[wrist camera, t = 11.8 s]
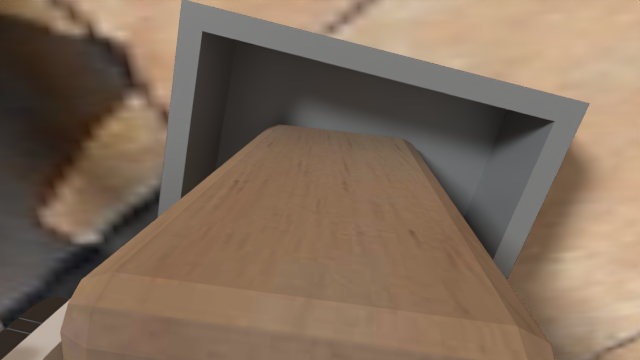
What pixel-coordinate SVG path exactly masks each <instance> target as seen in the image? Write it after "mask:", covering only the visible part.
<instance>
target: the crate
mask: <svg viewBox="0 0 640 360" xmlns="http://www.w3.org/2000/svg"><path fill="white" fill-rule="evenodd" d="M589 104H590V103H586V102H582V101H578V100H574V99H570V98H566V97H562V96H558V95H555V94H551V93H547V92H543V91H539V90H535V89H531V88H527V87H523V86H519V85H515V84H512V83H508V82H504V81H500V80H496V79H492V78H488V77H484V76H480V75H476V74H473V73H469V72H465V71H461V70H457V69H453V68H449V67H445V66H441V65H437V64H433V63H430V62H426V61H422V60H418V59H414V58H410V57H406V56H402V55H398V54H394V53H390V52H387V51H383V50H379V49H375V48H371V47H367V46H363V45H359V44H355V43H351V42H348V41H344V40H340V39H336V38H332V37H328V36H324V35H320V34H316V33H312V32H308V31H305V30H301V29H297V28H293V27H289V26H285V25H281V24H277V23H273V22H269V21H265V20H262V19H258V18H254V17H250V16H246V15H242V14H238V13H234V12H230V11H226V10H223V9H219V8H215V7H211V6H207V5H203V4H199V3H195V2H191V1H187V0H182V2H181V11H180V20H179V29H178V38H177V47H176V56H175V65H174V74H173V83H172V92H171V101H170V110H169V119H168V128H167V137H166V146H165V155H164V164H163V173H162V182H161V191H160V200H159V209H158V217H159V216H160V215H162V214H163V213H164V212H165V211H167V210H168V209H169V208H170V207H172V206H173V205H174V204H175V203H176V202H178V201H179V200H180V199H181V198H183V197H184V196H185V195H186V194H187V193H189V192H190V191H191V190H192V189H194V188H195V187H196V186H197V185H198V184H200V183H201V182H202V181H203V180H205V179H206V178H207V177H208V176H210V175H211V174H212V173H213V172H214V171H216V170H217V169H218V168H219V167H221V166H222V165H223V164H224V163H225V162H227V161H228V160H229V159H230V158H232V157H233V156H234V155H235V154H236V153H238V152H239V151H240V150H241V149H243V148H244V147H245V146H246V145H248V144H249V143H250V142H251V141H252V140H254V139H255V138H256V137H257V136H259V135H260V134H261V133H262V132H263V131H265V130H266V129H267V128H268V127H272V126H275V125H278V124H281V125H290V126H299V127H308V128H317V129H326V130H335V131H344V132H353V133H362V134H371V135H379V136H388V137H397V138H403V139H404V140H406V141H408V142H410V143H412V144H413V146H414V147H415V149H416V150H417V152H418V153H419V154H420V156H421V157H422V159H423V160H424V162H425V163H426V165H427V166H428V167H429V169H430V170H431V172H432V173H433V175H434V176H435V178H436V179H437V180H438V182H439V183H440V185H441V186H442V188H443V189H444V191H445V192H446V193H447V195H448V196H449V198H450V199H451V201H452V202H453V204H454V205H455V206H456V208H457V209H458V211H459V212H460V214H461V215H462V217H463V218H464V219H465V221H466V222H467V224H468V225H469V227H470V228H471V229H472V231H473V232H474V234H475V235H476V237H477V238H478V240H479V241H480V242H481V244H482V245H483V247H484V248H485V250H486V251H487V253H488V254H489V255H490V257H491V258H492V260H493V261H494V263H495V264H496V266H497V267H498V268H499V270H500V271H501V273H502V274H503V276H504V277H505V279H506V280H507V279H508V276H509V274H510V272H511V270H512V268H513V266H514V264H515V262H516V259H517V257H518V255H519V253H520V251H521V249H522V247H523V245H524V242H525V240H526V238H527V236H528V234H529V232H530V230H531V227H532V225H533V223H534V221H535V219H536V217H537V215H538V213H539V210H540V208H541V206H542V204H543V202H544V200H545V198H546V196H547V193H548V191H549V189H550V187H551V185H552V183H553V181H554V179H555V176H556V174H557V172H558V170H559V168H560V166H561V164H562V162H563V159H564V157H565V155H566V153H567V151H568V149H569V147H570V144H571V142H572V140H573V138H574V136H575V134H576V132H577V130H578V127H579V125H580V123H581V121H582V119H583V117H584V115H585V113H586V110H587V108H588V106H589Z"/></svg>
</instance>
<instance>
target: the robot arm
mask: <svg viewBox="0 0 640 360" xmlns="http://www.w3.org/2000/svg"><path fill="white" fill-rule="evenodd" d="M69 301H70V300H69V299H65V298H61V297H57V296H53V297H51V298H49V299H46V300H44V301H42V302H40V303H38V304H35V305H34V306H33V307H31V308H30V309H29V310H28V311H26V312H25V313H24V314H23V315H21V316H20V318H19V319H16V320H15V321H14V322H13V323H11V324H10V325H9V326H8V327H7V329H6V330H5V329H4V330H3V331H1V332H0V360H64V356H63V349H62V342H61V335H60V330H61V327H62V323H63V320H64V316H65V312H66V309H67V305H68V303H69Z"/></svg>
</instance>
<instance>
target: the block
mask: <svg viewBox="0 0 640 360" xmlns="http://www.w3.org/2000/svg"><path fill="white" fill-rule="evenodd" d="M60 335H61V342H62V349H63V356H64V360H554V355H553V351H552V347H551V343H550V342H549V341H548V339H547V338H546V336H545V335H544V333H543V332H542V330H541V329H540V328H539V326H538V325H537V323H536V322H535V320H534V319H533V317H532V316H531V315H530V313H529V312H528V310H527V309H526V307H525V306H524V305H523V303H522V302H521V300H520V299H519V297H518V296H517V294H516V293H515V292H514V290H513V289H512V287H511V286H510V284H509V283H508V281H507V280H506V279H505V277H504V276H503V274H502V273H501V271H500V270H499V268H498V267H497V266H496V264H495V263H494V261H493V260H492V258H491V257H490V255H489V254H488V253H487V251H486V250H485V248H484V247H483V245H482V244H481V242H480V241H479V240H478V238H477V237H476V235H475V234H474V232H473V231H472V229H471V228H470V227H469V225H468V224H467V222H466V221H465V219H464V218H463V217H462V215H461V214H460V212H459V211H458V209H457V208H456V206H455V205H454V204H453V202H452V201H451V199H450V198H449V196H448V195H447V193H446V192H445V191H444V189H443V188H442V186H441V185H440V183H439V182H438V180H437V179H436V178H435V176H434V175H433V173H432V172H431V170H430V169H429V167H428V166H427V165H426V163H425V162H424V160H423V159H422V157H421V156H420V154H419V153H418V152H417V150H416V149H415V147H414V146H413V144H412V143H410V142H408V141H406V140H404V139H403V138H397V137H388V136H379V135H371V134H362V133H353V132H344V131H335V130H326V129H317V128H308V127H299V126H290V125H281V124H278V125H275V126H272V127H268V128H267V129H266V130H265V131H263V132H262V133H261V134H260V135H259V136H257V137H256V138H255V139H254V140H252V141H251V142H250V143H249V144H248V145H246V146H245V147H244V148H243V149H241V150H240V151H239V152H238V153H236V154H235V155H234V156H233V157H232V158H230V159H229V160H228V161H227V162H225V163H224V164H223V165H222V166H221V167H219V168H218V169H217V170H216V171H214V172H213V173H212V174H211V175H210V176H208V177H207V178H206V179H205V180H203V181H202V182H201V183H200V184H198V185H197V186H196V187H195V188H194V189H192V190H191V191H190V192H189V193H187V194H186V195H185V196H184V197H183V198H181V199H180V200H179V201H178V202H176V203H175V204H174V205H173V206H172V207H170V208H169V209H168V210H167V211H165V212H164V213H163V214H162V215H160V216H159V217H158V218H157V219H156V220H154V221H153V222H152V223H151V224H149V225H148V226H147V227H146V228H145V229H143V230H142V231H141V232H140V233H138V234H137V235H136V236H135V237H133V238H132V239H131V240H130V241H129V242H127V243H126V244H125V245H124V246H122V247H121V248H120V249H119V250H118V251H116V252H115V253H114V254H113V255H111V256H110V257H109V258H108V259H107V260H105V261H104V262H103V263H102V264H100V265H99V266H98V267H97V268H95V269H94V270H93V271H92V272H91V273H89V274H88V275H87V276H86V277H84V278H83V279H82V280H81V282H80V283H79V285H78V287H77V289H76V290H75V292H74V294H73V296H72V297H71V299H70V301H69V303H68V305H67V309H66V312H65V316H64V320H63V323H62V327H61V330H60Z"/></svg>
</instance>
